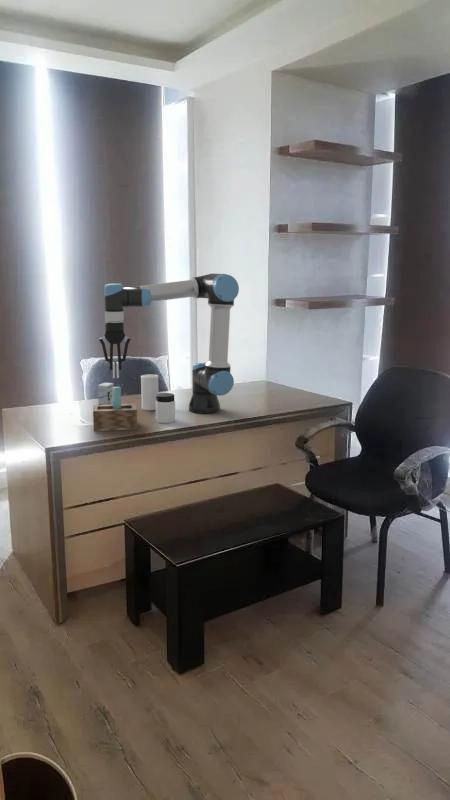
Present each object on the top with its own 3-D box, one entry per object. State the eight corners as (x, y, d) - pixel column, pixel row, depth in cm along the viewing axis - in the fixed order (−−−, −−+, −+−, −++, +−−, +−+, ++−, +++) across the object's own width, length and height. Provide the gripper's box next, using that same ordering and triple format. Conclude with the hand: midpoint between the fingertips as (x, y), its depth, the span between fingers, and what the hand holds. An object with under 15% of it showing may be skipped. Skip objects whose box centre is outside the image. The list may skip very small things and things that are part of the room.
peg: (122, 423, 265) (122, 387, 262) (118, 425, 262) (118, 388, 259) (115, 423, 266) (115, 386, 263) (111, 424, 263) (111, 387, 260)
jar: (166, 417, 281) (165, 391, 278) (178, 420, 276) (178, 394, 273) (151, 421, 274) (151, 394, 271) (164, 424, 269) (164, 397, 266)
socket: (135, 422, 271) (135, 403, 270) (137, 429, 260) (136, 409, 258) (93, 423, 268) (93, 404, 266) (93, 431, 256) (93, 411, 254)
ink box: (107, 410, 294) (107, 385, 291) (98, 409, 294) (97, 385, 292) (114, 406, 302) (113, 382, 299) (105, 405, 303) (104, 382, 300)
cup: (161, 407, 300) (161, 375, 297) (152, 410, 293) (152, 377, 290) (147, 405, 304) (146, 373, 300) (138, 409, 296) (137, 376, 293)
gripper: (131, 320, 259) (132, 375, 264) (97, 320, 257) (98, 376, 262) (132, 322, 252) (133, 378, 257) (97, 322, 249) (99, 379, 254)
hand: (115, 377), depth 259 cm, fingers closed
